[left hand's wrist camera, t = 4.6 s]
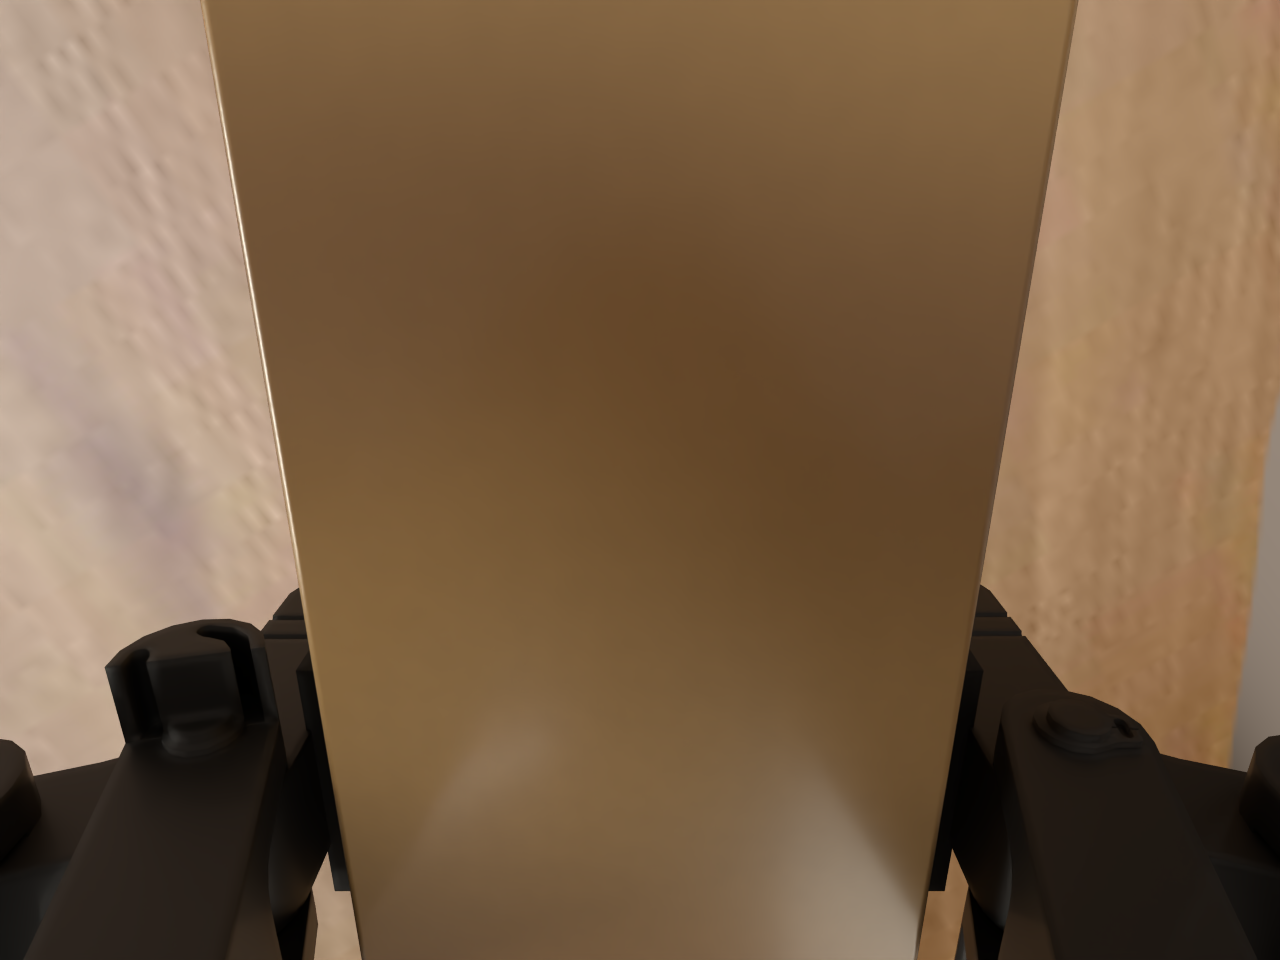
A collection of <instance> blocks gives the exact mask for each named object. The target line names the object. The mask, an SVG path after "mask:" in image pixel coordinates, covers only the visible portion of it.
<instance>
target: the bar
mask: <svg viewBox="0 0 1280 960" xmlns="http://www.w3.org/2000/svg"><path fill="white" fill-rule="evenodd" d="M200 2H201V8H202V14H203V20H204V26H205V32H206V38H207V44H208V50H209V55H210V61H211V67H212V73H213V79H214V85H215V91H216V97H217V103H218V109H219V115H220V121H221V127H222V133H223V139H224V144H225V150H226V156H227V162H228V168H229V174H230V180H231V186H232V192H233V198H234V204H235V210H236V216H237V222H238V228H239V233H240V239H241V245H242V251H243V257H244V263H245V269H246V275H247V281H248V287H249V293H250V299H251V305H252V311H253V316H254V322H255V328H256V334H257V340H258V346H259V352H260V358H261V364H262V370H263V376H264V382H265V388H266V394H267V400H268V405H269V411H270V417H271V423H272V429H273V435H274V441H275V447H276V453H277V459H278V465H279V471H280V477H281V483H282V488H283V494H284V500H285V506H286V512H287V518H288V524H289V530H290V536H291V542H292V548H293V554H294V560H295V566H296V572H297V577H298V583H299V589H300V595H301V601H302V607H303V613H304V619H305V625H306V631H307V637H308V643H309V649H310V655H311V660H312V666H313V672H314V678H315V684H316V690H317V696H318V702H319V708H320V714H321V720H322V726H323V732H324V738H325V744H326V749H327V755H328V761H329V767H330V773H331V779H332V785H333V791H334V797H335V803H336V809H337V815H338V821H339V827H340V833H341V838H342V844H343V850H344V856H345V862H346V868H347V874H348V880H349V886H350V892H351V898H352V904H353V910H354V916H355V921H356V927H357V933H358V939H359V945H360V951H361V957H362V960H917V956H918V950H919V944H920V938H921V932H922V926H923V921H924V915H925V909H926V903H927V897H928V891H929V885H930V879H931V873H932V867H933V861H934V855H935V849H936V843H937V837H938V831H939V825H940V819H941V814H942V808H943V802H944V796H945V790H946V784H947V778H948V772H949V766H950V760H951V754H952V748H953V742H954V736H955V730H956V724H957V718H958V713H959V707H960V701H961V695H962V689H963V683H964V677H965V671H966V665H967V659H968V653H969V647H970V641H971V635H972V629H973V623H974V617H975V611H976V606H977V600H978V594H979V588H980V582H981V576H982V570H983V564H984V558H985V552H986V546H987V540H988V534H989V528H990V522H991V516H992V510H993V505H994V499H995V493H996V487H997V481H998V475H999V469H1000V463H1001V457H1002V451H1003V445H1004V439H1005V433H1006V427H1007V421H1008V415H1009V409H1010V403H1011V398H1012V392H1013V386H1014V380H1015V374H1016V368H1017V362H1018V356H1019V350H1020V344H1021V338H1022V332H1023V326H1024V320H1025V314H1026V308H1027V302H1028V297H1029V291H1030V285H1031V279H1032V273H1033V267H1034V261H1035V255H1036V249H1037V243H1038V237H1039V231H1040V225H1041V219H1042V213H1043V207H1044V201H1045V195H1046V190H1047V184H1048V178H1049V172H1050V166H1051V160H1052V154H1053V148H1054V142H1055V136H1056V130H1057V124H1058V118H1059V112H1060V106H1061V100H1062V94H1063V89H1064V83H1065V77H1066V71H1067V65H1068V59H1069V53H1070V47H1071V41H1072V35H1073V29H1074V23H1075V17H1076V11H1077V5H1078V0H200Z"/></svg>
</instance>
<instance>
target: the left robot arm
mask: <svg viewBox="0 0 1280 960" xmlns="http://www.w3.org/2000/svg"><path fill="white" fill-rule="evenodd" d="M1021 632H1022V631H1021V630H1020V629H1019V627H1018V626H1017V625H1016V623H1015V622H1014V621H1013V620H1012V618H1011V617H1007V612H1006V611H1005V609H1004V608H1003V607H1002V606H1001V604H1000V603H999V602H998V600H997V599H996V598H995V597H994V595H993V594H992V593H991V591H990V590H988V589H987V588H985V587H983V586H982V585H980V588H979V594H978V600H977V606H976V611H975V617H974V623H973V629H972V635H971V641H970V647H969V653H968V659H967V665H966V671H965V677H964V683H963V689H962V695H961V701H960V707H959V713H958V718H957V724H956V730H955V736H954V742H953V748H952V754H951V760H950V766H949V772H948V778H947V784H946V790H945V796H944V802H943V808H942V814H941V819H940V825H939V831H938V837H937V843H936V849H935V855H934V861H933V867H932V873H931V879H930V885H929V891H945V886H946V880H947V874H948V869H949V863H950V858H951V852H952V849H953V851H954V853H955V856H956V858H957V860H958V862H959V865H960V867H961V869H962V871H963V874H964V876H965V878H966V880H967V883H968V885H969V886H968V891H967V897H966V902H965V907H964V912H963V917H962V923H961V928H960V933H959V938H958V944H957V949H956V954H955V959H954V960H1280V735H1278V736H1271V737H1268V738H1266V739H1265V740H1264V741H1263V742H1261V743H1260V744H1259V745H1258V746H1256V748H1255V751H1254V753H1253V757H1252V760H1251V763H1250V766H1249V769H1248V772H1242V771H1237V770H1232V769H1227V768H1223V767H1218V766H1213V765H1208V764H1203V763H1198V762H1193V761H1188V760H1183V759H1178V758H1175V757H1171V756H1167V755H1163V754H1160V753H1159V751H1158V748H1157V746H1156V744H1155V742H1154V741H1153V740H1152V738H1151V737H1150V736H1149V735H1148V733H1147V732H1146V731H1145V729H1144V728H1143V727H1142V726H1141V724H1139V723H1138V722H1136V721H1135V720H1134V719H1132V718H1131V717H1129V716H1128V715H1127V714H1125V713H1124V712H1122V711H1121V710H1119V709H1118V708H1116V707H1113V706H1111V705H1109V704H1107V703H1104V702H1102V701H1100V700H1097V699H1095V698H1093V697H1090V696H1086V695H1082V694H1078V693H1073V692H1069V691H1068V690H1067V689H1066V688H1065V686H1064V685H1063V684H1062V683H1061V681H1060V680H1059V679H1058V677H1057V676H1056V675H1055V674H1054V672H1053V671H1052V670H1051V668H1050V667H1049V666H1048V665H1047V663H1046V662H1045V661H1044V659H1043V658H1042V657H1041V656H1040V654H1039V653H1038V652H1037V650H1036V649H1035V648H1034V647H1033V645H1032V644H1031V643H1030V641H1029V640H1028V639H1027V638H1026V636H1022V634H1021ZM105 670H106V674H107V677H108V681H109V685H110V688H111V692H112V695H113V699H114V703H115V706H116V710H117V714H118V717H119V721H120V724H121V728H122V732H123V735H124V739H125V742H126V744H125V746H124V748H123V750H122V752H121V754H120V756H119V758H116V759H112V760H108V761H104V762H101V763H96V764H91V765H86V766H81V767H76V768H71V769H66V770H61V771H57V772H52V773H47V774H42V775H37V776H33V774H32V771H31V768H30V765H29V762H28V759H27V756H26V753H25V751H24V750H23V749H22V748H20V747H19V746H18V745H17V744H15V743H14V742H13V741H10V740H3V739H0V960H314V954H315V945H316V937H317V928H318V921H317V914H316V907H315V902H314V897H313V891H312V886H313V884H314V881H315V879H316V877H317V874H318V872H319V870H320V868H321V865H322V863H323V861H324V859H325V856H326V854H327V852H328V855H329V861H330V866H331V872H332V878H333V883H334V889H335V891H350V886H349V880H348V874H347V868H346V862H345V856H344V850H343V844H342V838H341V833H340V827H339V821H338V815H337V809H336V803H335V797H334V791H333V785H332V779H331V773H330V767H329V761H328V755H327V749H326V744H325V738H324V732H323V726H322V720H321V714H320V708H319V702H318V696H317V690H316V684H315V678H314V672H313V666H312V660H311V655H310V649H309V643H308V637H307V631H306V625H305V619H304V613H303V607H302V601H301V595H300V589H299V588H298V589H296V590H295V591H293V592H291V593H290V594H289V595H288V597H287V598H286V599H285V601H284V602H283V603H282V604H281V606H280V607H279V608H278V610H277V611H276V612H275V614H274V615H273V620H269V621H268V623H267V624H266V625H265V626H264V628H263V629H262V630H261V631H260V630H258V629H257V628H256V627H254V626H253V625H252V624H250V623H246V622H241V621H237V620H232V619H207V620H198V621H193V622H188V623H183V624H178V625H173V626H170V627H168V628H165V629H162V630H160V631H157V632H154V633H152V634H149V635H146V636H144V637H142V638H140V639H139V640H137V641H135V642H134V643H132V644H130V645H129V646H127V647H125V648H124V649H122V650H121V651H119V652H118V653H117V654H116V656H115V657H114V658H113V659H112V660H111V661H110V662H109V663H108V664H107V665H106V666H105Z"/></svg>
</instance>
